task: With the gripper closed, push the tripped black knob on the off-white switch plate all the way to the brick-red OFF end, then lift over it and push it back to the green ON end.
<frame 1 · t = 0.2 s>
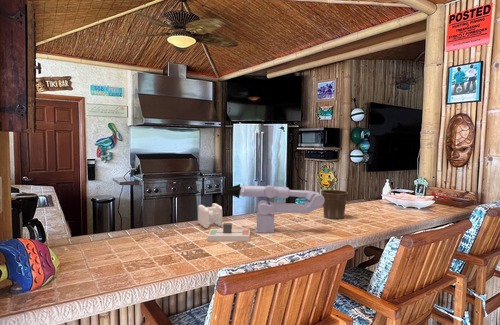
hand: (226, 190, 166), 22 cm above the bar counter, tool horizontal, fingers open, 7 cm apart
switch plate: (229, 237, 156), on the bar counter
cable organizer: (210, 226, 178), on the bar counter
plant pot: (334, 217, 197), on the bar counter
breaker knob: (227, 227, 156), point 5 cm above the bar counter, slide at 3.0 cm
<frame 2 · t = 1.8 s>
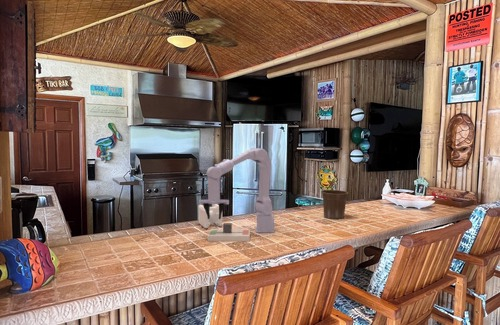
hand: (214, 218, 156), 9 cm above the bar counter, tool pointing down, fingers open, 5 cm apart
nothing on the bar counter moved.
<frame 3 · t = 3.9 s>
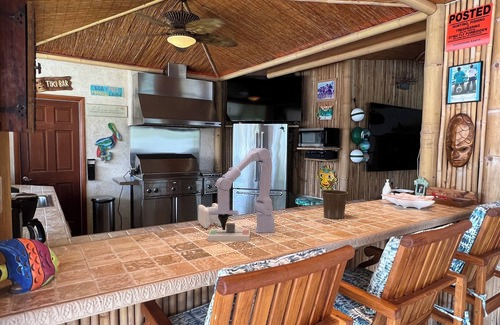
hand: (223, 229, 156), 4 cm above the bar counter, tool pointing down, fingers closed
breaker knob: (230, 227, 156), point 5 cm above the bar counter, slide at 1.4 cm, touching gripper
everything else where it was.
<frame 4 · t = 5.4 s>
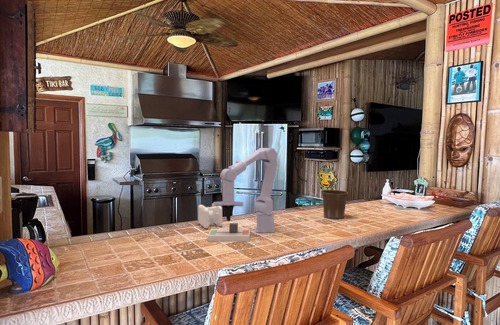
hand: (228, 220, 155), 8 cm above the bar counter, tool pointing down, fingers closed
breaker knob: (233, 227, 156), point 5 cm above the bar counter, slide at -0.1 cm
everything else where it was.
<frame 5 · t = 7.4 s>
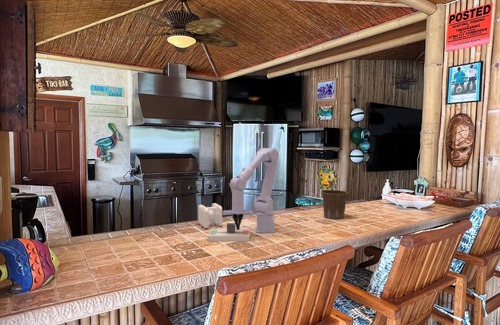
hand: (238, 229, 156), 4 cm above the bar counter, tool pointing down, fingers closed
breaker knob: (231, 227, 156), point 5 cm above the bar counter, slide at 1.2 cm, touching gripper
everything else where it was.
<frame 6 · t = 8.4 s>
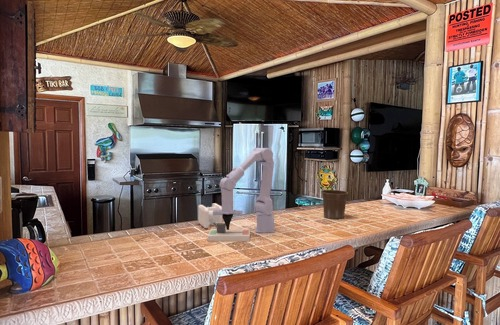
hand: (227, 229, 156), 4 cm above the bar counter, tool pointing down, fingers closed
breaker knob: (221, 227, 156), point 5 cm above the bar counter, slide at 6.1 cm, touching gripper
everything else where it was.
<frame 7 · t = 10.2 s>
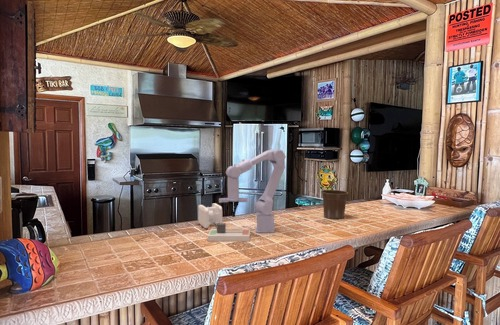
hand: (233, 216, 161), 9 cm above the bar counter, tool pointing down, fingers closed
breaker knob: (221, 227, 156), point 5 cm above the bar counter, slide at 6.1 cm
everything else where it was.
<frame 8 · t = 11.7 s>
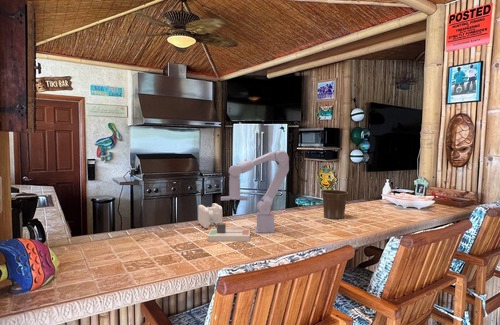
hand: (234, 214, 165), 9 cm above the bar counter, tool pointing down, fingers closed
nothing on the bar counter moved.
at the end: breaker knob slide at 6.1 cm; cable organizer moved 0.3 cm from its start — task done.
